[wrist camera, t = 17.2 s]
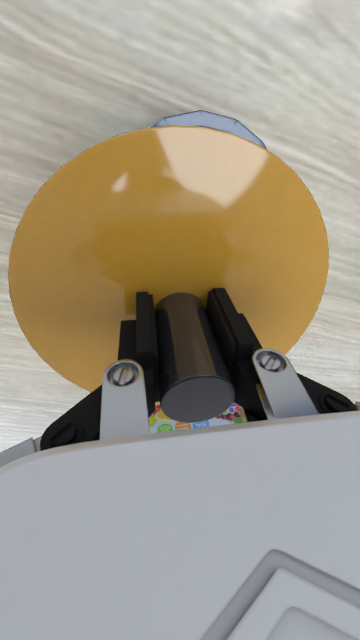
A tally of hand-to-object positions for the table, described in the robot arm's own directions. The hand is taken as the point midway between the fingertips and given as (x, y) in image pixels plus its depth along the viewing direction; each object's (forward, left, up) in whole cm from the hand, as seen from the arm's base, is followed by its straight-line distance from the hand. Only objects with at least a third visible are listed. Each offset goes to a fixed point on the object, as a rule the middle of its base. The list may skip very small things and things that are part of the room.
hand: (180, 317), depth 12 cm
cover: (0, 0, -1) cm, 1 cm away
